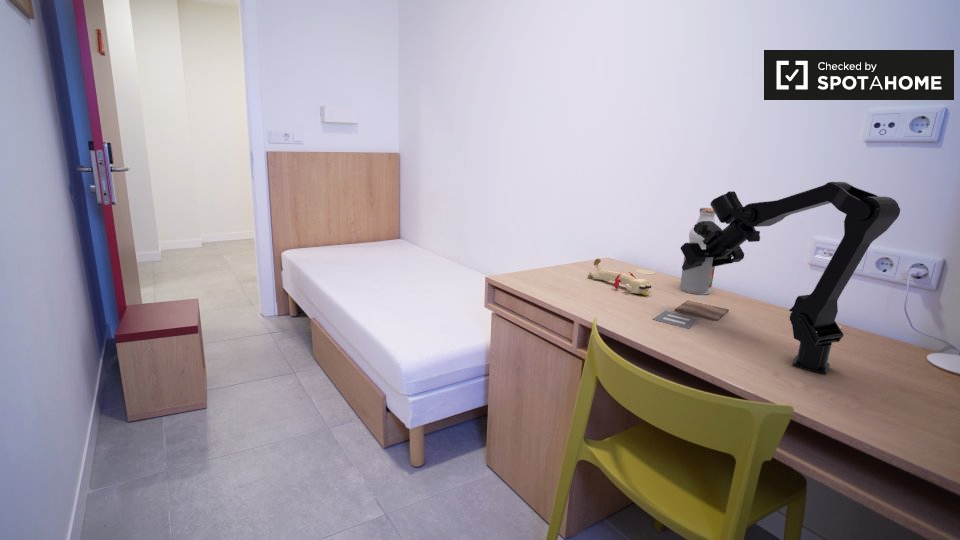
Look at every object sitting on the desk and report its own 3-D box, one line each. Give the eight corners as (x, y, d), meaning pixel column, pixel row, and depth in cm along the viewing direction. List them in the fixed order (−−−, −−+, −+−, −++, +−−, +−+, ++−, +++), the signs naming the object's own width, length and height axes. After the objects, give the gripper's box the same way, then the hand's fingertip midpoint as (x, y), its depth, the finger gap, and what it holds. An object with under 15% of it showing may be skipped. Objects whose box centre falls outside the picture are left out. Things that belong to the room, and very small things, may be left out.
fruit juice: (674, 287, 170) (686, 206, 163) (698, 286, 172) (711, 206, 165) (692, 295, 161) (705, 210, 154) (716, 294, 164) (730, 210, 157)
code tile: (689, 328, 132) (689, 328, 132) (652, 319, 138) (652, 318, 138) (700, 319, 139) (700, 319, 139) (665, 311, 145) (665, 310, 145)
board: (717, 321, 138) (717, 319, 138) (674, 311, 145) (674, 309, 145) (728, 311, 147) (728, 309, 147) (687, 302, 154) (687, 300, 154)
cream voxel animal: (583, 283, 176) (638, 297, 155) (584, 259, 175) (639, 270, 154) (603, 280, 181) (659, 293, 160) (604, 256, 180) (661, 267, 159)
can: (707, 296, 137) (714, 254, 134) (678, 292, 140) (684, 251, 137) (707, 289, 144) (714, 249, 141) (680, 286, 147) (685, 246, 144)
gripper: (742, 211, 136) (704, 243, 149) (690, 213, 129) (656, 246, 142) (762, 245, 131) (722, 275, 144) (710, 248, 124) (672, 279, 136)
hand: (693, 268), depth 141 cm, fingers closed on can, 7 cm apart
